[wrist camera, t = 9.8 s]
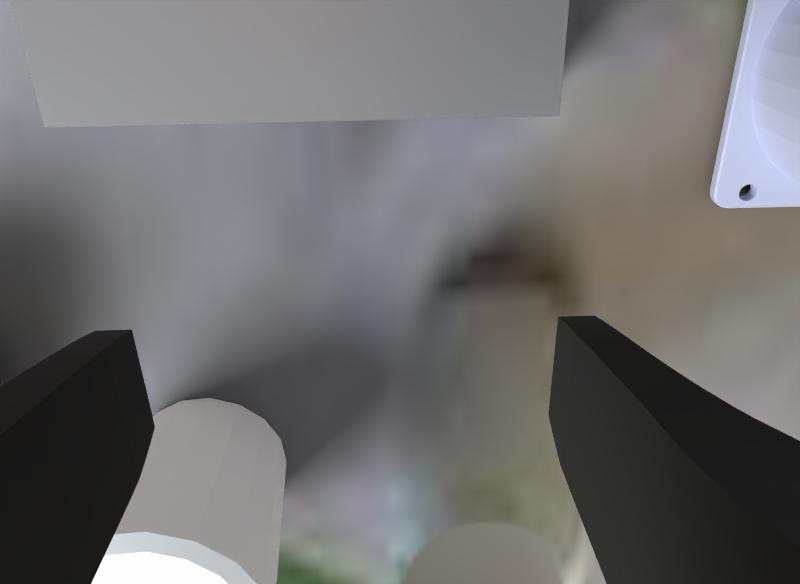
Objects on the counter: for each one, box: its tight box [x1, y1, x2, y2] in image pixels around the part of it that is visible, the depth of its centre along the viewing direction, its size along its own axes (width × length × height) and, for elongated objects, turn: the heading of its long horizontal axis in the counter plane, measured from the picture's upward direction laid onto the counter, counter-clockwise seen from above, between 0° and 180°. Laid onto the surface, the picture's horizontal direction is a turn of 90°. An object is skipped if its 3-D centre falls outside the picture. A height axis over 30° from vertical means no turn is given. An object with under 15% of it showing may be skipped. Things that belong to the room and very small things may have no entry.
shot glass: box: [91, 398, 287, 584], centre depth 23 cm, size 7×7×7 cm
